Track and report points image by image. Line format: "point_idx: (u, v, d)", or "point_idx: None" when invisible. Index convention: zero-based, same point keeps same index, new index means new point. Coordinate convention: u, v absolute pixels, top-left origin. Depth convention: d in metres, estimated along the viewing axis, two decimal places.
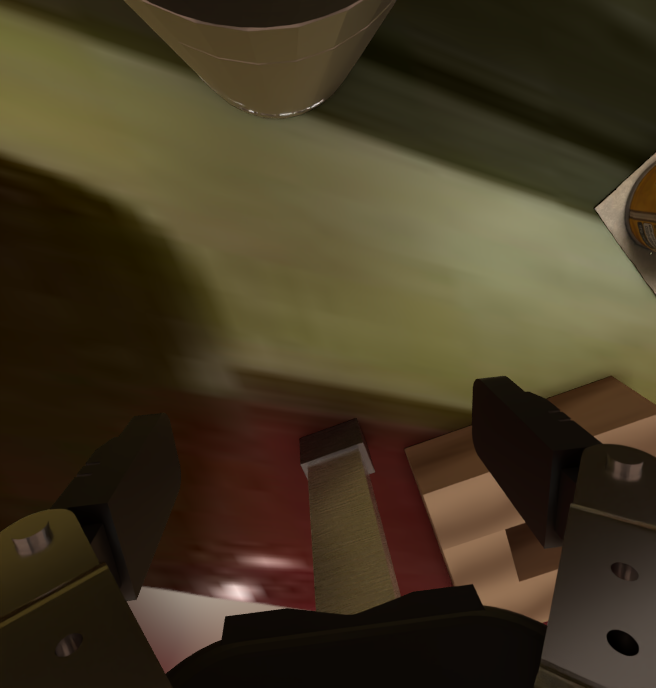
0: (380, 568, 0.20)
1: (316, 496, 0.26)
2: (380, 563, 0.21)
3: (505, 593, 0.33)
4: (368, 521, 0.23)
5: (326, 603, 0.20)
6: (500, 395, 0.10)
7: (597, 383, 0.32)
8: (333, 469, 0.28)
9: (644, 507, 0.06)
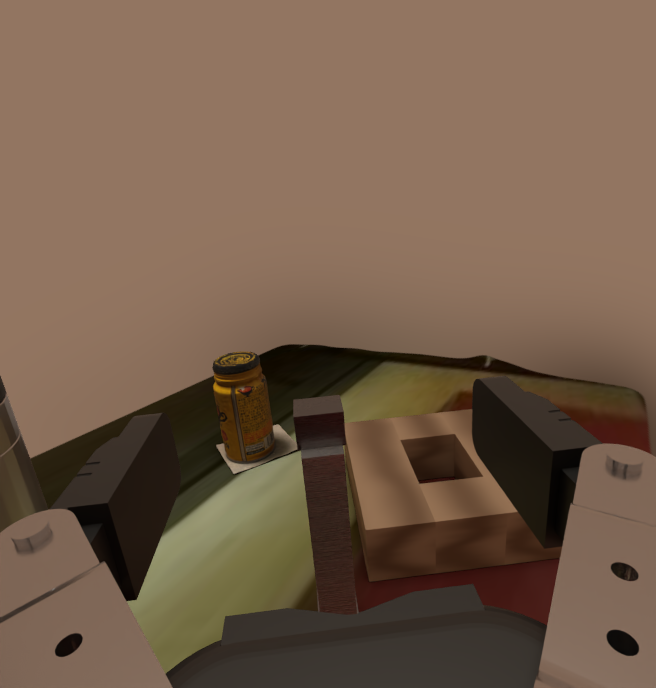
0: None
1: None
2: None
3: None
4: None
5: None
6: (500, 395, 0.10)
7: (347, 467, 0.48)
8: None
9: (644, 507, 0.06)
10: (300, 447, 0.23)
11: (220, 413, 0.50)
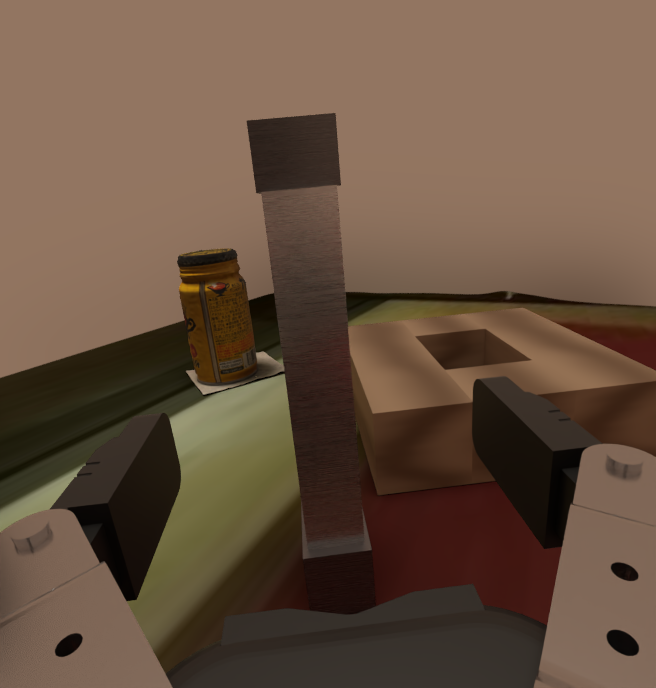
0: None
1: None
2: None
3: (554, 365, 0.26)
4: None
5: None
6: (500, 395, 0.10)
7: None
8: None
9: (644, 507, 0.06)
10: (261, 187, 0.13)
11: (187, 320, 0.40)
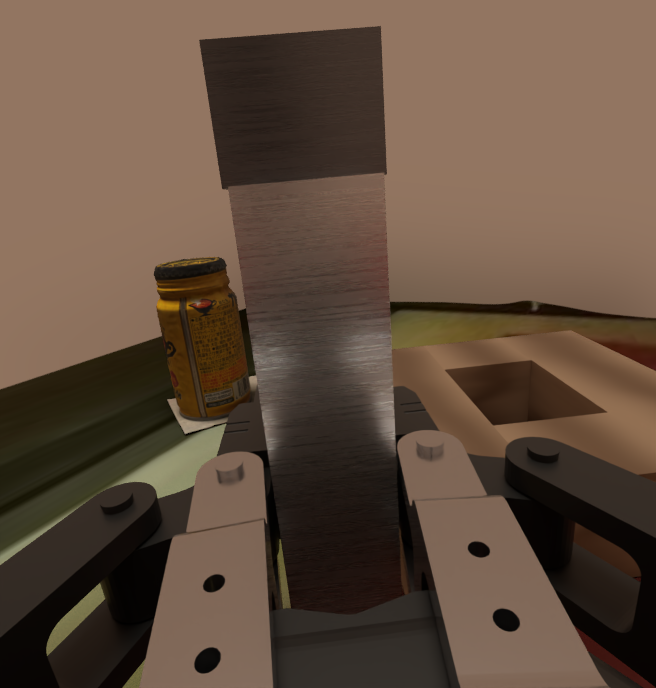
0: None
1: None
2: None
3: (642, 422, 0.20)
4: None
5: None
6: None
7: None
8: None
9: (421, 482, 0.07)
10: (231, 177, 0.07)
11: (166, 344, 0.33)
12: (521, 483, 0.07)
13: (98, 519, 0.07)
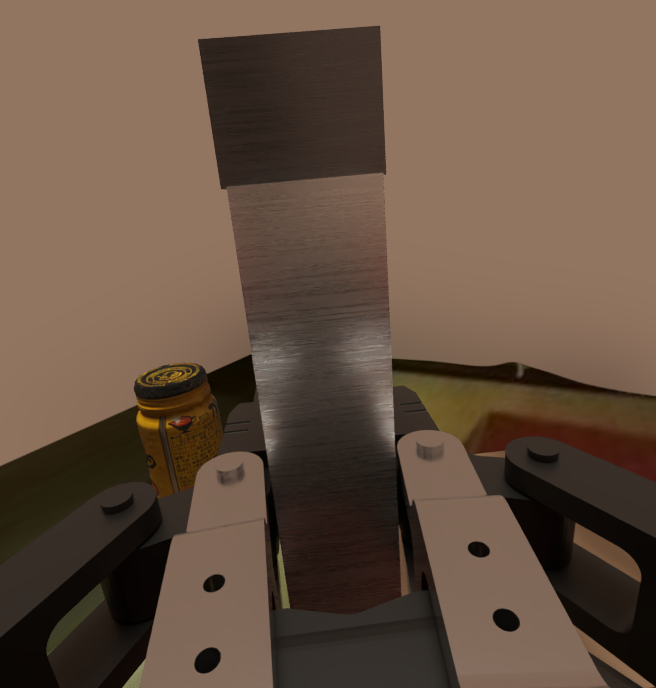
0: None
1: None
2: None
3: None
4: None
5: None
6: None
7: None
8: None
9: (421, 482, 0.07)
10: (230, 177, 0.07)
11: (147, 456, 0.33)
12: (521, 483, 0.07)
13: (98, 519, 0.07)
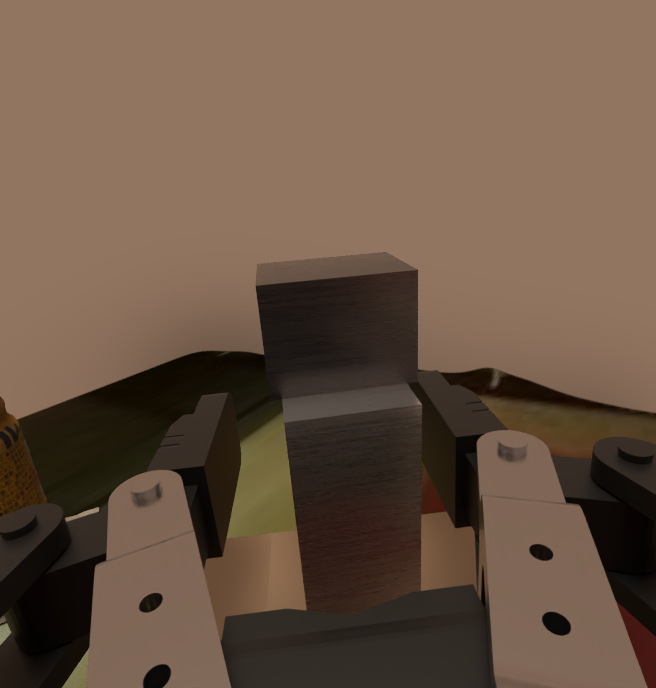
0: None
1: None
2: None
3: None
4: None
5: None
6: (426, 387, 0.11)
7: None
8: None
9: (515, 484, 0.07)
10: (279, 391, 0.08)
11: None
12: (606, 480, 0.07)
13: None
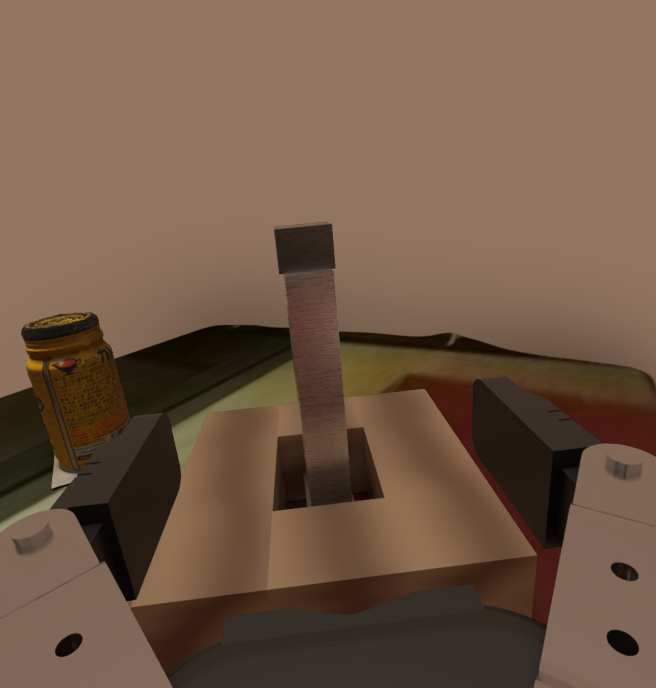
0: None
1: None
2: (290, 338, 0.24)
3: (406, 512, 0.21)
4: None
5: None
6: (500, 395, 0.10)
7: None
8: (307, 475, 0.25)
9: (644, 507, 0.06)
10: (282, 270, 0.20)
11: (37, 399, 0.34)
12: None
13: None
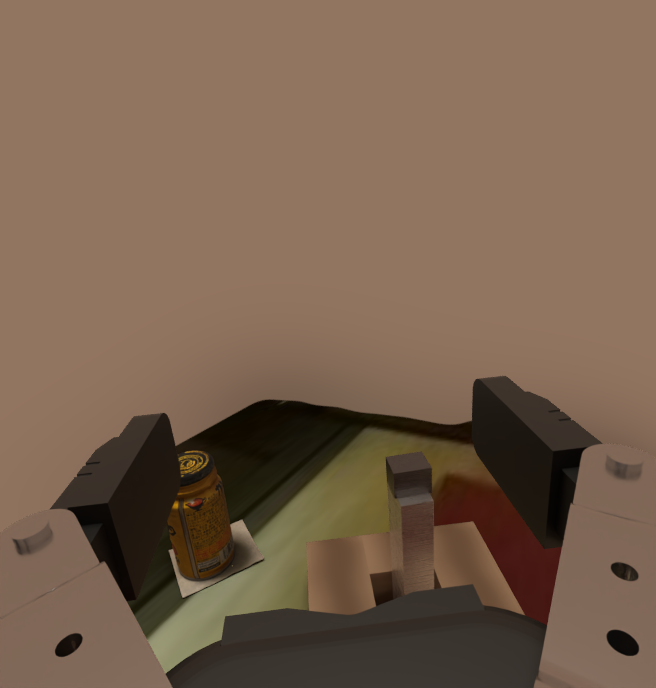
0: (390, 517, 0.33)
1: None
2: (389, 520, 0.33)
3: None
4: (391, 549, 0.34)
5: (400, 534, 0.30)
6: (500, 395, 0.10)
7: None
8: None
9: (644, 507, 0.06)
10: (397, 496, 0.30)
11: (168, 526, 0.43)
12: None
13: None
